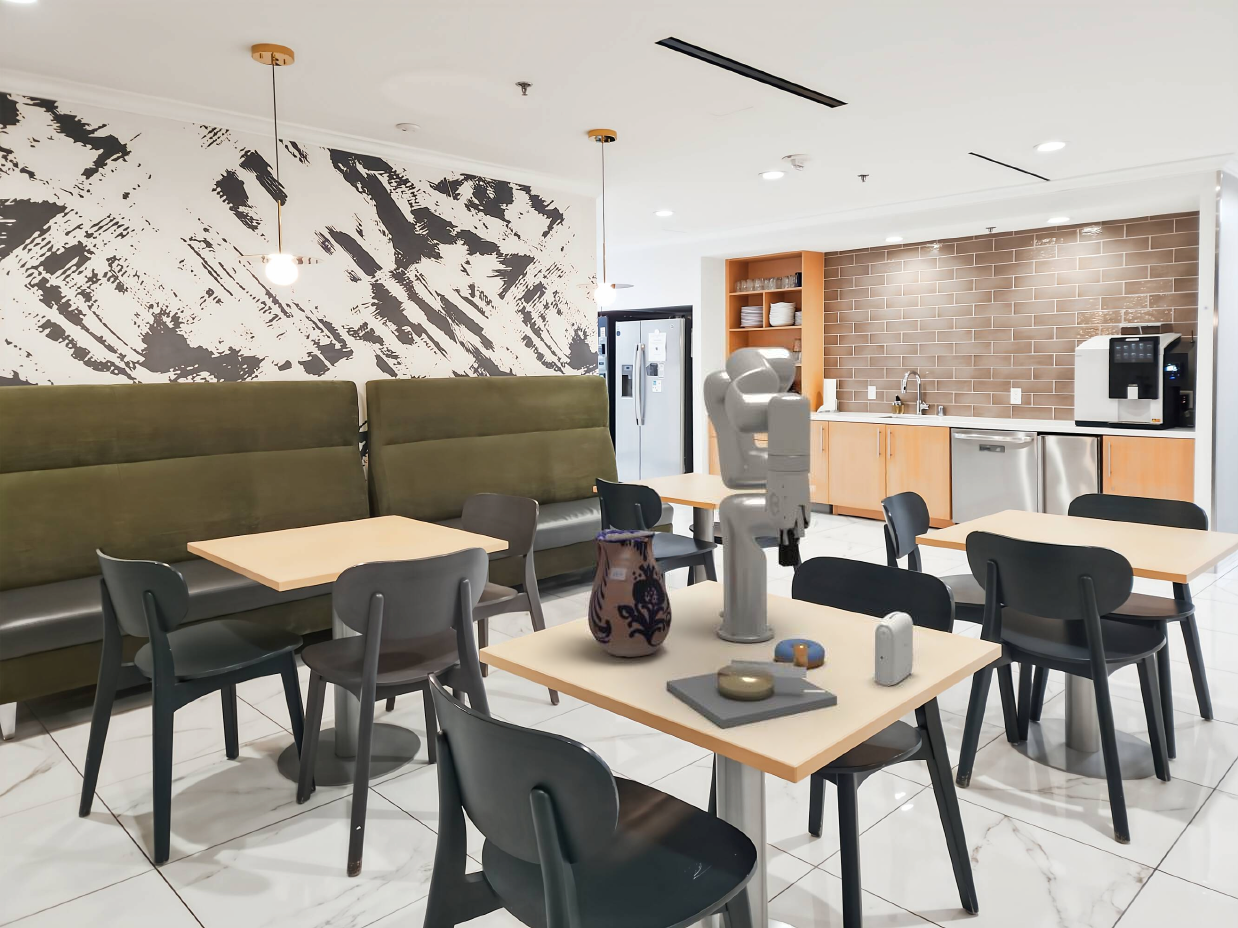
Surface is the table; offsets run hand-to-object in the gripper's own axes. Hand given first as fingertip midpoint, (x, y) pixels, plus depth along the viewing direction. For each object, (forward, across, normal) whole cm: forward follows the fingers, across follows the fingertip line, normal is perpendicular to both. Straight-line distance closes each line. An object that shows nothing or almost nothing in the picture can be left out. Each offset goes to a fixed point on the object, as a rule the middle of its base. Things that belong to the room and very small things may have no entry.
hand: (788, 565), depth 155 cm
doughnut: (+24, -13, +9) cm, 28 cm away
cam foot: (+21, +4, -7) cm, 23 cm away
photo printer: (+23, 0, +21) cm, 32 cm away
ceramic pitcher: (+24, -31, -23) cm, 45 cm away
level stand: (+23, +2, -8) cm, 25 cm away
